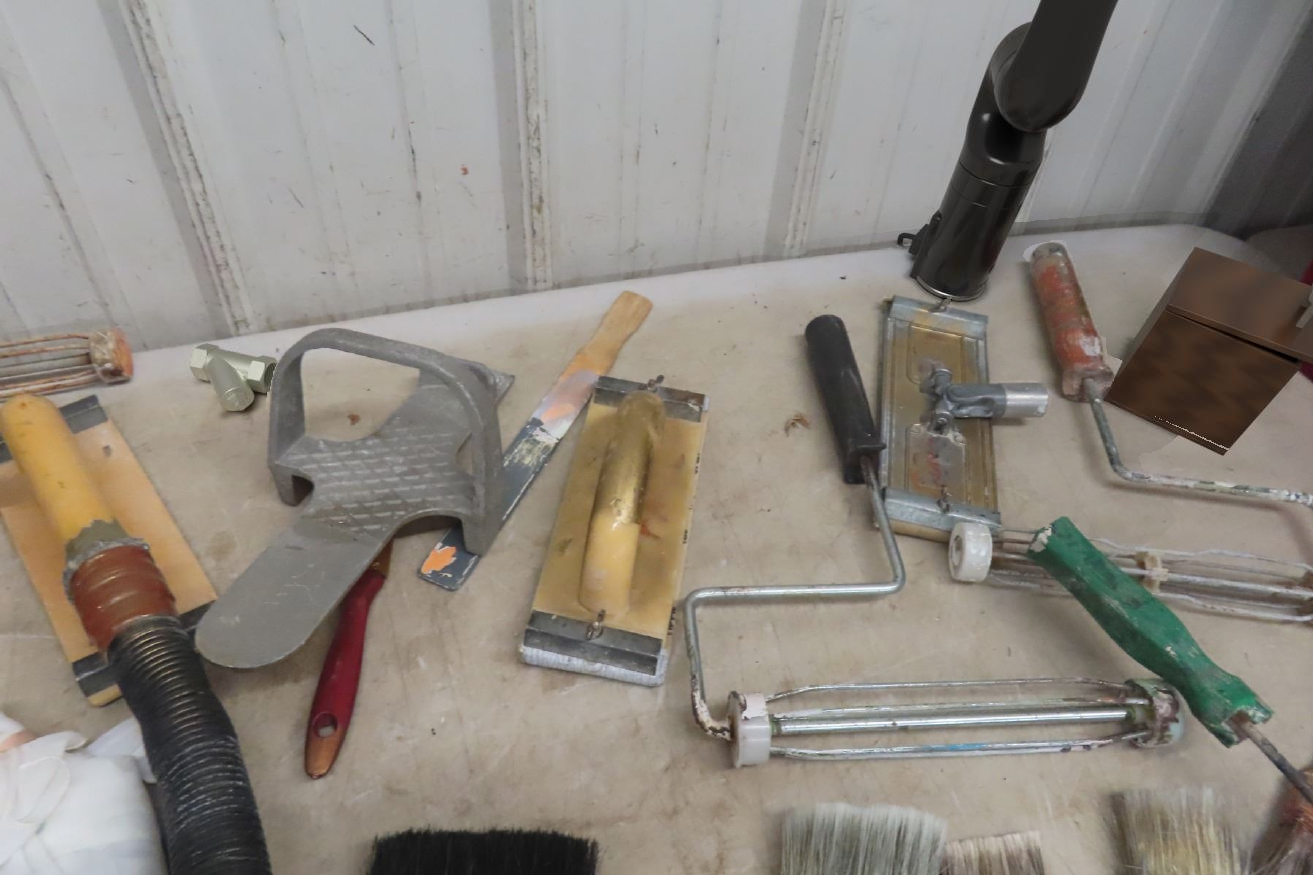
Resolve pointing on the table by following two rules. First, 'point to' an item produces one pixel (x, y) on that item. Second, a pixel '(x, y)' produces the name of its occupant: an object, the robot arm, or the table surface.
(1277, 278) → the lid
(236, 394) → the pipe fitting
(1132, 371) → the chest
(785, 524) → the table surface
